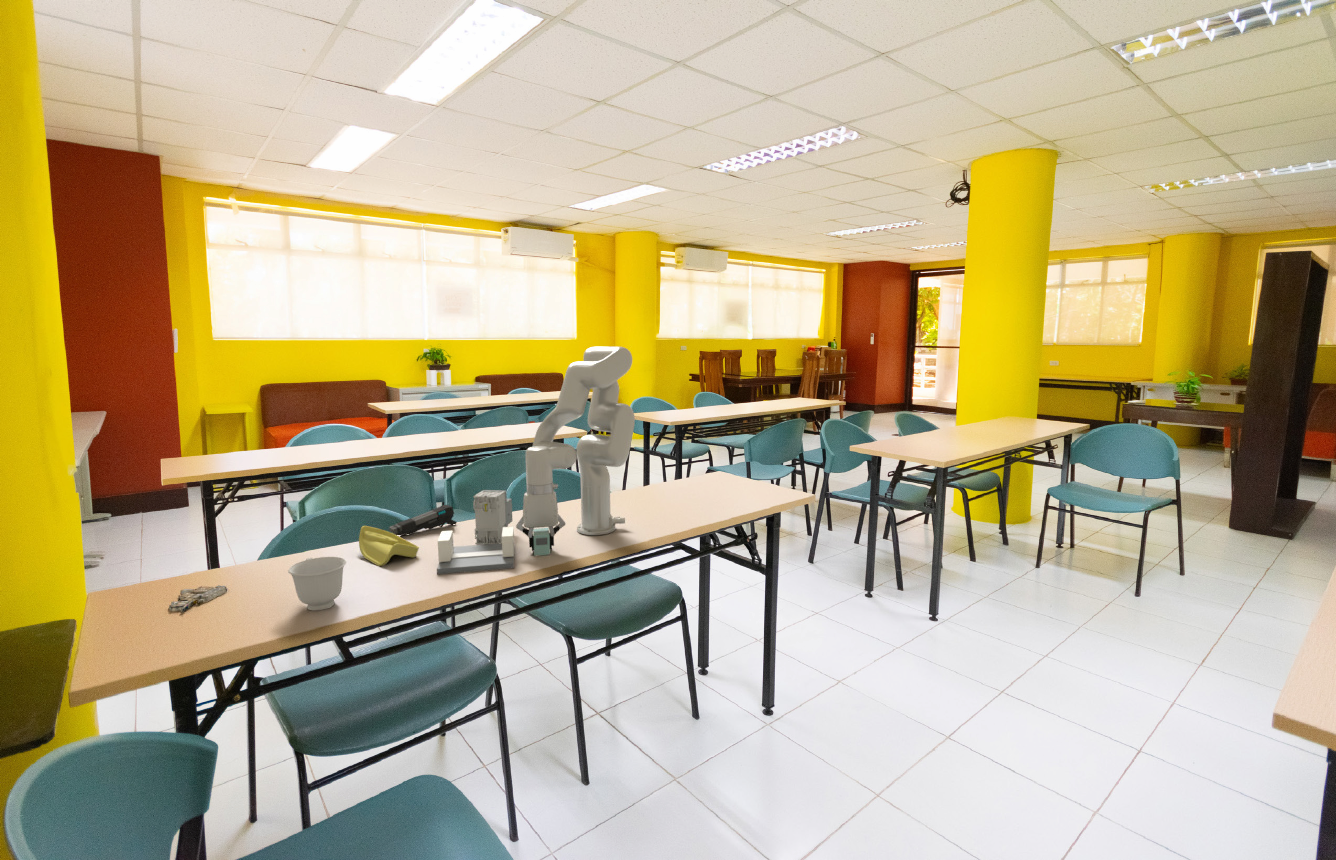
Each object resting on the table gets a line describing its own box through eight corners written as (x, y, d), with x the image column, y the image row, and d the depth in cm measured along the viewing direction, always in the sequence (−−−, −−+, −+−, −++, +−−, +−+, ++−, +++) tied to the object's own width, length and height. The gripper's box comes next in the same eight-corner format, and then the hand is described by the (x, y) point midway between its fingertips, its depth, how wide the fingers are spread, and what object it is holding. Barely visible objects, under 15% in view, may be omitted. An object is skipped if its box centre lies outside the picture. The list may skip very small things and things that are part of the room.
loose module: (549, 546, 192) (548, 527, 191) (550, 554, 185) (549, 534, 184) (533, 547, 191) (533, 528, 190) (534, 556, 184) (533, 536, 183)
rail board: (514, 547, 192) (513, 522, 191) (513, 568, 175) (512, 540, 173) (445, 552, 188) (443, 526, 186) (437, 574, 170) (435, 546, 169)
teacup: (337, 587, 161) (334, 550, 160) (356, 606, 150) (353, 565, 149) (283, 601, 153) (279, 561, 152) (299, 621, 142) (295, 578, 141)
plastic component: (422, 548, 184) (392, 542, 176) (412, 573, 183) (381, 567, 175) (388, 530, 196) (358, 524, 189) (378, 553, 195) (348, 547, 187)
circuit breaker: (514, 530, 208) (512, 485, 206) (499, 544, 194) (496, 496, 192) (492, 529, 209) (490, 485, 207) (475, 543, 195) (473, 496, 193)
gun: (460, 524, 214) (449, 499, 211) (405, 556, 203) (392, 530, 199) (454, 521, 217) (443, 496, 214) (400, 553, 206) (387, 527, 202)
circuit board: (169, 620, 145) (168, 610, 144) (169, 597, 156) (168, 589, 156) (232, 606, 152) (231, 597, 152) (228, 586, 164) (227, 577, 163)
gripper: (568, 484, 191) (569, 542, 194) (510, 487, 187) (512, 546, 190) (569, 490, 184) (571, 550, 186) (509, 493, 180) (512, 555, 183)
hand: (541, 548), depth 188 cm, fingers closed on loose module, 4 cm apart
